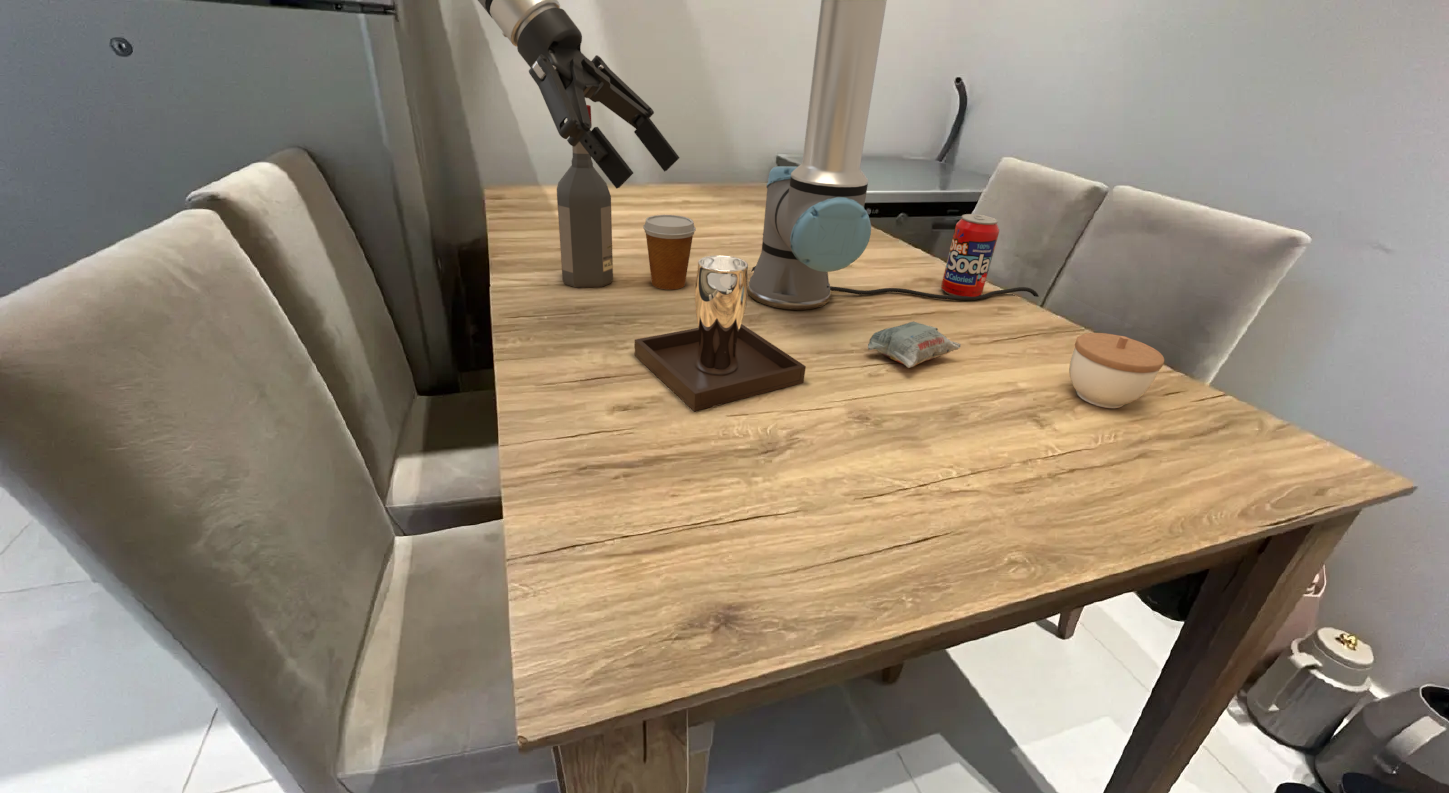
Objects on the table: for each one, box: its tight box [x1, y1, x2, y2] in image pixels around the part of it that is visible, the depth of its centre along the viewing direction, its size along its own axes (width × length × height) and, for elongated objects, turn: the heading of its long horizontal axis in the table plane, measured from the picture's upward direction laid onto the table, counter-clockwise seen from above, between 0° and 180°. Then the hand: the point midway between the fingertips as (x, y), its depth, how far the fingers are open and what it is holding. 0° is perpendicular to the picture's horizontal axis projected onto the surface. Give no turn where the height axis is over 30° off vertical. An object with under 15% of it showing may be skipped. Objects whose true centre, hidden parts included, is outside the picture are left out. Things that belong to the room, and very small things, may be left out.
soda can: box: [940, 213, 1000, 297], centre depth 121 cm, size 8×8×15 cm
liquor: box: [556, 104, 614, 288], centre depth 111 cm, size 9×9×30 cm
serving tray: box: [634, 323, 807, 412], centre depth 89 cm, size 18×18×3 cm
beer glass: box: [694, 254, 749, 375], centre depth 86 cm, size 7×7×15 cm
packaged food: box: [867, 321, 962, 369], centre depth 96 cm, size 9×12×5 cm
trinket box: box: [1068, 332, 1165, 409], centre depth 87 cm, size 11×11×9 cm
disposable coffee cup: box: [642, 214, 697, 291], centre depth 116 cm, size 10×10×12 cm
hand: (650, 172), depth 80 cm, fingers open, 13 cm apart
